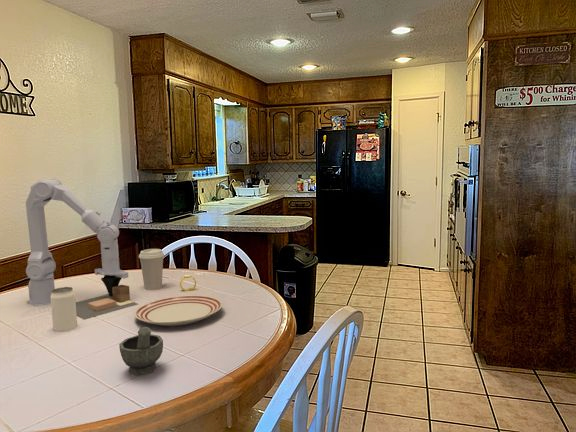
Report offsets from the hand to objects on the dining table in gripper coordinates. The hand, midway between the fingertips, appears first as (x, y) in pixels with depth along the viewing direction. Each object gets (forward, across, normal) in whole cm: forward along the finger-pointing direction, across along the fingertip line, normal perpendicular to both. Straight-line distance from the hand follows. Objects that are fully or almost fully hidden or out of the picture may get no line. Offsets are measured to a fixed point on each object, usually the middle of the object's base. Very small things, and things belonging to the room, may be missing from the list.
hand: (112, 295), depth 159 cm
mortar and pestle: (+2, +50, -37) cm, 63 cm away
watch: (+2, +18, +20) cm, 27 cm away
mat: (+2, +1, -8) cm, 8 cm away
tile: (0, +1, -8) cm, 8 cm away
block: (+1, +4, 0) cm, 5 cm away
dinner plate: (+2, +33, -4) cm, 34 cm away
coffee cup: (+2, +4, +17) cm, 17 cm away
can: (+2, +9, -26) cm, 27 cm away
